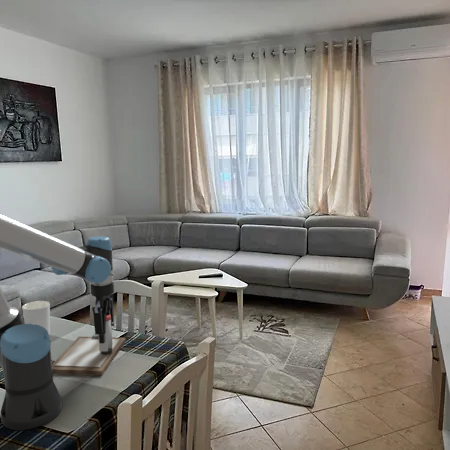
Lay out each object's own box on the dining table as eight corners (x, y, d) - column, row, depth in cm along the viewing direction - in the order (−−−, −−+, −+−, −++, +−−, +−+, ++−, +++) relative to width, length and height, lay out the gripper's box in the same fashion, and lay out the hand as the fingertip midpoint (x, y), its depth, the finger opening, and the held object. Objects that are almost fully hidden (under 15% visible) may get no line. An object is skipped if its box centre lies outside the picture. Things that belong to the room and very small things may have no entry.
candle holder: (56, 329, 167) (54, 301, 165) (44, 340, 158) (41, 310, 155) (33, 328, 168) (30, 300, 166) (19, 339, 159) (16, 309, 156)
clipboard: (47, 373, 134) (46, 365, 134) (79, 340, 158) (78, 333, 157) (102, 375, 133) (101, 367, 132) (125, 341, 156) (125, 334, 156)
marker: (98, 354, 142) (95, 318, 140) (102, 348, 147) (100, 313, 144) (110, 355, 142) (108, 318, 140) (114, 349, 146) (112, 314, 144)
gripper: (103, 291, 131) (108, 360, 135) (121, 275, 148) (124, 337, 152) (80, 290, 132) (85, 359, 136) (100, 274, 149) (104, 336, 153)
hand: (106, 347), depth 144 cm, fingers closed on marker, 4 cm apart
